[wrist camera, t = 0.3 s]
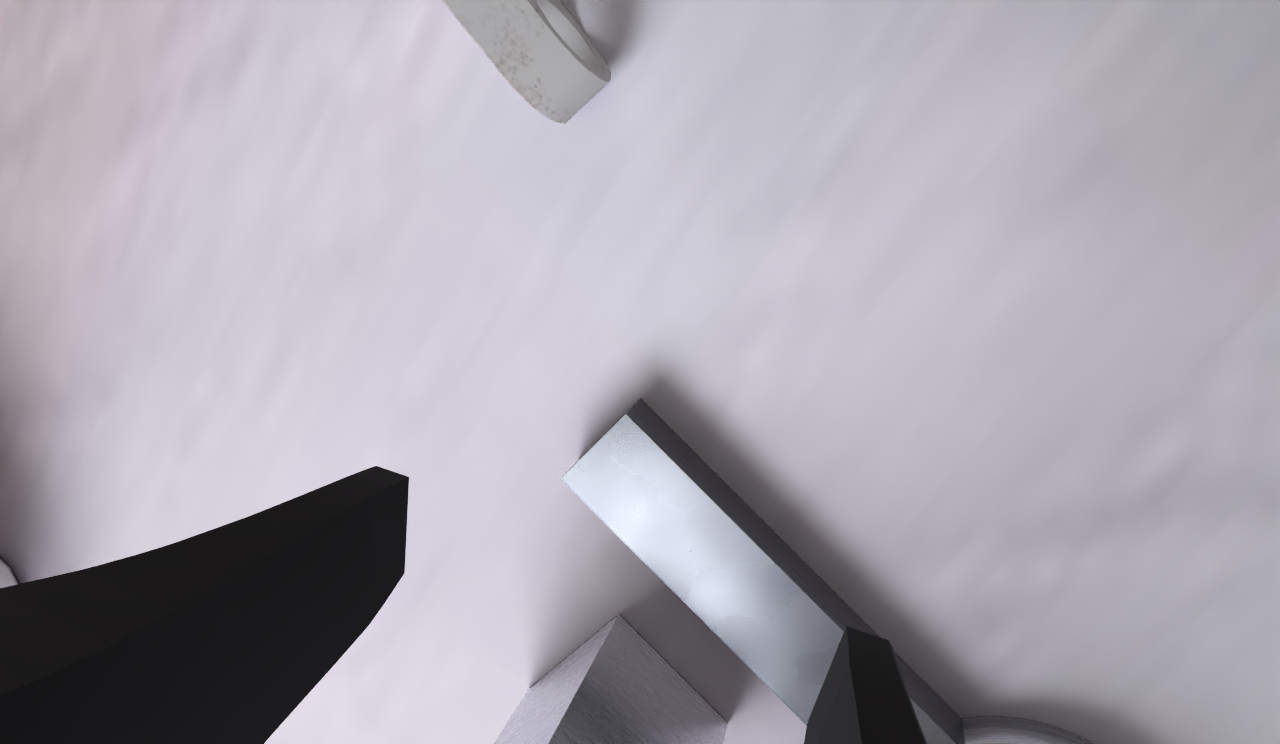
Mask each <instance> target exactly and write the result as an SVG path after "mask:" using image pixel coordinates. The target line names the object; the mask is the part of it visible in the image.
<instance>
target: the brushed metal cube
mask: <svg viewBox="0 0 1280 744" xmlns="http://www.w3.org/2000/svg"><path fill="white" fill-rule="evenodd" d="M727 725H728V723H727V722H726V721H725V720H724V719H723V718H722V717H721V716H720V715H719V714H718V713H717V712H716V711H715V710H714V709H713V708H712V707H711V706H710V705H709V704H708V703H707V702H706V701H705V700H704V699H703V698H702V697H701V696H700V695H699V694H698V693H697V692H696V691H695V690H694V689H693V688H692V687H691V686H690V685H689V684H688V683H687V682H686V681H685V680H684V679H683V678H682V677H681V676H680V675H679V674H678V673H677V672H676V671H675V670H674V669H673V668H672V667H671V666H670V665H669V664H668V663H667V662H666V661H665V660H664V659H663V658H662V657H661V656H660V655H659V654H658V653H657V652H656V651H655V650H654V649H653V648H652V647H651V646H650V645H649V644H648V643H647V642H646V641H645V640H644V639H643V638H642V637H641V636H640V635H639V634H638V633H637V632H636V631H635V630H634V629H633V628H632V627H631V626H630V625H629V624H628V623H627V622H626V621H625V620H624V619H623V618H622V617H621V616H620V615H618V616H616V617H615V618H614V619H613V620H612V621H610V622H609V623H608V624H607V625H606V626H604V627H603V628H602V629H601V630H599V631H598V632H597V633H596V634H595V635H593V636H592V637H591V638H590V639H589V640H587V641H586V642H585V643H584V644H583V645H581V646H580V647H579V648H578V649H577V650H575V651H574V652H573V653H572V654H571V655H569V656H568V657H567V658H566V659H565V660H563V661H562V662H561V663H560V664H559V665H557V666H556V667H555V668H554V669H552V670H551V671H550V672H549V673H548V674H546V675H545V676H544V677H543V678H542V679H540V680H539V681H538V682H537V683H536V684H534V685H533V686H532V687H531V688H530V689H528V691H527V693H526V694H525V696H524V697H523V699H522V700H521V702H520V704H519V705H518V707H517V708H516V710H515V711H514V713H513V715H512V716H511V718H510V719H509V721H508V722H507V724H506V725H505V727H504V729H503V730H502V732H501V733H500V735H499V736H498V738H497V740H496V741H495V743H494V744H723V741H724V737H725V733H726V729H727Z"/></svg>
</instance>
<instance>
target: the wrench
mask: <svg viewBox="0 0 1280 744" xmlns="http://www.w3.org/2000/svg"><path fill="white" fill-rule="evenodd" d="M442 1H443V2H444V4H445V5H446V6H447V7H448V9H449V10H450V11H451V12H452V13H453V15H454V16H455V17H456V18H457V20H458V21H459V22H460V23H461V25H462V26H463V27H464V28H465V30H466V31H467V32H468V33H469V35H470V36H471V37H472V38H473V40H474V41H475V42H476V43H477V44H478V46H479V47H480V48H481V49H482V51H483V52H484V53H485V54H486V56H487V57H488V58H489V59H490V61H491V62H492V63H493V64H494V66H495V67H496V68H497V70H498V71H499V72H500V73H501V74H502V76H503V77H504V78H505V79H506V80H507V81H508V83H509V84H510V85H511V86H512V87H513V88H514V89H515V90H516V91H517V92H518V93H519V94H520V95H521V96H522V97H523V98H524V99H525V100H526V101H527V102H528V103H529V104H530V105H531V106H532V107H533V108H535V109H536V110H537V111H538V112H539V113H540V114H542V115H544V116H546V117H547V118H549V119H551V120H553V121H555V122H559V123H566V122H567V121H568V120H570V119H571V118H572V117H573V116H574V115H575V114H576V113H577V112H578V111H579V110H580V109H581V108H582V107H583V106H584V105H585V104H586V103H587V102H588V101H589V100H590V99H592V98H593V97H594V96H595V95H596V94H597V93H598V92H599V91H600V90H601V89H602V88H603V87H604V86H605V85H606V84H607V83H608V82H609V81H610V80H611V72H610V70H609V67H608V66H607V64H606V62H605V60H604V58H603V57H602V55H601V54H600V53H599V51H598V50H597V49H596V47H595V46H594V45H593V43H592V42H591V41H590V39H589V38H588V37H587V35H586V34H585V33H584V31H583V30H582V28H581V27H580V26H579V24H578V23H577V22H576V20H575V19H574V18H573V16H572V15H571V14H570V12H569V11H568V10H567V8H566V7H565V6H564V5H563V3H562V2H561V1H560V0H442Z"/></svg>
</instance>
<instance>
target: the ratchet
mask: <svg viewBox="0 0 1280 744" xmlns="http://www.w3.org/2000/svg"><path fill="white" fill-rule="evenodd" d="M561 480H562V481H563V482H564V483H565V484H566V485H567V486H568V487H569V488H570V489H571V490H572V491H573V492H574V493H575V494H576V495H577V496H578V497H579V498H580V499H581V500H582V501H583V502H584V503H585V504H586V505H587V506H588V507H589V508H590V509H591V510H592V511H593V512H594V513H595V514H596V515H597V516H598V517H599V518H600V519H601V520H602V521H603V522H604V523H605V524H606V525H607V526H608V527H609V528H610V529H611V530H612V531H613V532H614V533H615V534H616V535H617V536H618V537H619V538H620V539H621V540H622V541H623V542H624V543H625V544H626V545H627V546H628V547H629V548H630V549H631V550H632V551H633V552H634V553H635V554H636V555H637V556H638V557H639V558H640V559H641V560H642V561H643V562H644V563H645V564H646V565H647V566H648V567H649V568H650V569H651V570H652V571H653V572H654V573H655V574H656V575H657V576H658V577H659V578H660V579H661V580H662V581H663V582H664V583H665V584H666V585H667V586H668V587H669V588H670V589H671V590H672V591H673V592H674V593H675V594H676V595H677V596H678V597H679V598H680V599H681V600H682V601H683V602H684V603H685V604H686V605H687V606H688V607H689V608H690V609H691V610H692V611H693V612H694V613H695V614H696V615H697V616H698V617H699V618H700V619H701V620H702V621H703V622H704V623H705V624H706V625H707V626H708V627H709V628H710V629H711V630H712V631H713V632H714V633H715V634H716V635H717V636H718V637H719V638H720V639H721V640H722V641H723V642H724V643H725V644H726V645H727V646H728V647H729V648H730V649H731V650H732V651H733V652H734V653H735V654H736V655H737V656H738V657H739V658H740V659H741V660H742V661H743V662H744V663H745V664H746V665H747V666H748V667H749V668H750V669H751V670H752V671H753V672H754V673H755V674H756V675H757V676H758V677H759V678H760V679H761V680H762V681H763V682H764V683H765V684H766V685H767V686H768V687H769V688H770V689H771V690H772V691H773V692H774V693H775V694H776V695H777V696H778V697H779V698H780V699H781V700H782V701H783V702H784V703H785V704H786V705H787V706H788V707H789V708H790V709H791V710H792V711H793V712H794V713H795V714H796V715H797V716H798V717H799V718H800V719H801V720H802V721H803V722H804V723H805V724H806V725H807V724H808V720H809V717H810V715H811V712H812V710H813V707H814V705H815V702H816V700H817V697H818V695H819V692H820V690H821V687H822V685H823V682H824V680H825V678H826V675H827V673H828V670H829V668H830V665H831V663H832V660H833V658H834V655H835V653H836V650H837V648H838V645H839V643H840V640H841V638H842V635H843V633H844V631H845V628H846V626H848V627H851V628H854V629H857V630H860V631H862V632H865V633H868V634H871V635H874V636H877V637H879V636H878V635H877V634H876V633H875V632H874V631H873V630H872V629H871V628H870V627H869V626H868V625H867V624H866V623H865V622H864V621H863V620H862V619H861V618H860V617H859V616H858V615H857V614H856V613H855V612H854V611H853V610H852V609H851V608H850V607H849V606H848V605H847V604H846V603H845V602H844V601H843V600H842V599H841V598H840V597H839V596H838V595H837V594H836V593H835V592H834V591H833V590H832V589H831V588H830V587H829V586H828V585H827V584H826V583H825V582H824V581H823V580H822V579H821V578H820V577H819V576H818V575H817V574H816V573H815V572H814V571H813V570H812V569H811V568H810V567H809V566H808V565H807V564H806V563H805V562H804V561H803V560H802V559H801V558H800V557H799V556H798V555H797V554H796V553H795V552H794V551H793V550H792V549H791V548H790V547H789V546H788V545H787V544H786V543H785V542H784V541H783V540H782V539H781V538H780V537H779V536H778V535H777V534H776V533H775V532H774V531H773V530H772V529H771V528H770V527H769V526H768V525H767V524H766V523H765V522H764V521H763V520H762V519H761V518H760V517H759V516H758V515H757V514H756V513H755V512H754V511H753V510H752V509H751V508H750V507H749V506H748V505H747V504H746V503H745V502H744V501H743V500H742V499H741V498H740V497H739V496H738V495H737V494H736V493H735V492H734V491H733V490H732V489H731V488H730V487H729V486H728V485H727V484H726V483H725V482H724V481H723V480H722V479H721V478H720V477H719V476H718V475H717V474H716V473H715V472H714V471H713V470H712V469H711V468H710V467H709V466H708V465H707V464H706V463H705V462H704V461H703V460H702V459H701V458H700V457H699V456H698V455H697V454H696V453H695V452H694V451H693V450H692V449H691V448H690V447H689V446H688V445H687V444H686V443H685V442H684V441H683V440H682V439H681V438H680V437H679V436H678V435H677V434H676V433H675V432H674V431H673V430H672V429H671V428H670V427H669V426H668V425H667V424H666V423H665V422H664V421H663V420H662V419H661V418H660V417H659V416H658V415H657V414H656V413H655V412H654V411H653V410H652V409H651V408H650V407H649V406H648V405H647V404H646V403H645V402H644V401H643V400H642V399H641V398H640V399H639V400H638V401H637V402H636V403H635V404H634V405H633V406H632V407H631V408H630V409H629V410H628V411H627V412H626V413H625V414H624V415H623V416H622V417H621V418H620V419H619V420H618V421H617V422H616V423H615V424H614V425H613V426H612V427H611V428H610V429H609V430H608V431H607V432H606V433H605V434H604V435H603V436H602V437H601V438H600V439H599V440H598V441H597V442H596V443H595V444H594V445H593V446H592V447H591V448H590V449H589V450H588V451H587V452H586V453H585V454H584V455H583V456H582V457H581V458H580V459H579V460H578V461H577V462H576V463H575V464H574V465H573V466H572V467H571V468H570V469H569V470H568V471H567V472H566V473H565V475H564V476H563V477H562V478H561ZM894 653H895V652H894ZM895 656H896V660H897V663H898V666H899V669H900V672H901V675H902V678H903V680H904V683H905V686H906V689H907V692H908V695H909V697H910V700H911V703H912V706H913V708H914V711H915V714H916V716H917V719H918V722H919V724H920V727H921V729H922V732H923V734H924V737H925V739H926V742H927V744H1093V743H1091V742H1089V741H1087V740H1086V739H1084V738H1082V737H1080V736H1078V735H1075V734H1073V733H1071V732H1068V731H1066V730H1063V729H1061V728H1058V727H1055V726H1051V725H1048V724H1045V723H1042V722H1037V721H1032V720H1027V719H1022V718H1013V717H1003V716H979V717H970V718H961V717H960V716H959V715H958V714H957V713H956V712H955V711H954V710H953V709H952V708H951V707H950V706H949V705H948V704H947V703H946V702H945V701H944V700H943V699H942V698H941V697H940V696H939V695H938V694H937V693H936V692H935V691H934V690H933V689H932V688H931V687H930V686H929V685H928V684H927V683H926V682H925V681H924V680H923V679H922V678H921V677H920V676H918V675H917V674H916V673H915V672H914V671H913V670H912V669H911V668H910V667H909V666H908V665H907V664H906V663H905V662H904V661H903V660H902V659H901V658H900V657H899V656H898V655H897V654H896V653H895Z"/></svg>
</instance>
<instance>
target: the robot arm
mask: <svg viewBox="0 0 1280 744" xmlns="http://www.w3.org/2000/svg"><path fill="white" fill-rule="evenodd" d="M408 484H409V477H407V476H404V475H401V474H398V473H395V472H392V471H389V470H386V469H383V468H380V467H377V466H375V467H372V468H369V469H367V470H364V471H361V472H358V473H356V474H353V475H351V476H348V477H346V478H343V479H341V480H338V481H336V482H333V483H331V484H329V485H326V486H324V487H321V488H319V489H316V490H314V491H311V492H309V493H307V494H304V495H302V496H299V497H297V498H294V499H292V500H289V501H287V502H284V503H282V504H279V505H277V506H274V507H272V508H269V509H267V510H264V511H262V512H259V513H257V514H254V515H252V516H249V517H246V518H244V519H241V520H238V521H235V522H233V523H230V524H227V525H224V526H221V527H219V528H216V529H213V530H210V531H207V532H205V533H202V534H199V535H196V536H193V537H191V538H188V539H185V540H182V541H179V542H176V543H173V544H170V545H167V546H164V547H161V548H158V549H154V550H151V551H148V552H145V553H141V554H138V555H135V556H131V557H127V558H124V559H120V560H117V561H113V562H110V563H106V564H102V565H99V566H95V567H91V568H87V569H83V570H80V571H75V572H71V573H66V574H62V575H57V576H53V577H48V578H44V579H39V580H35V581H31V582H26V583H22V584H17V585H13V586H8V587H4V588H0V744H264V743H265V742H266V740H267V739H268V738H269V737H270V736H271V735H272V733H273V732H274V731H275V730H276V729H277V728H278V727H279V726H280V724H281V723H282V722H283V721H284V720H285V719H286V718H287V717H288V716H289V714H290V713H291V712H292V711H293V710H294V709H295V708H296V707H297V705H298V704H299V703H300V702H301V701H302V700H303V699H304V698H305V697H306V695H307V694H308V693H309V692H310V691H311V690H312V689H313V688H314V686H315V685H316V684H317V683H318V682H319V681H320V680H321V679H322V678H323V676H324V675H325V674H326V673H327V672H328V671H329V670H330V669H331V668H332V666H333V665H334V664H335V663H336V662H337V661H338V660H339V658H340V657H341V656H342V655H343V654H344V653H345V652H346V651H347V649H348V648H349V647H350V646H351V645H352V644H353V643H354V641H355V640H356V639H357V638H358V637H359V636H360V635H361V633H362V632H363V631H364V630H365V629H366V628H367V626H368V625H369V624H370V623H371V621H372V620H373V618H374V617H375V616H376V614H377V613H378V611H379V610H380V608H381V607H382V606H383V604H384V603H385V601H386V600H387V598H388V597H389V595H390V594H391V592H392V591H393V589H394V588H395V586H396V585H397V583H398V582H399V580H400V579H401V577H402V576H403V574H404V569H405V548H406V526H407V505H408ZM804 744H927V742H926V739H925V737H924V734H923V732H922V729H921V727H920V724H919V722H918V719H917V716H916V714H915V711H914V708H913V706H912V703H911V700H910V697H909V695H908V692H907V689H906V686H905V683H904V680H903V678H902V675H901V672H900V669H899V666H898V663H897V660H896V656H895V653H894V650H893V648H892V646H891V644H890V642H889V641H888V640H886V639H883V638H880V637H877V636H874V635H871V634H868V633H865V632H862V631H860V630H857V629H854V628H851V627H848V626H846V628H845V631H844V633H843V635H842V638H841V640H840V643H839V645H838V648H837V650H836V653H835V655H834V658H833V660H832V663H831V665H830V668H829V670H828V673H827V675H826V678H825V680H824V682H823V685H822V687H821V690H820V692H819V695H818V697H817V700H816V702H815V705H814V707H813V710H812V712H811V715H810V717H809V720H808V724H807V729H806V735H805V741H804Z"/></svg>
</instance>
